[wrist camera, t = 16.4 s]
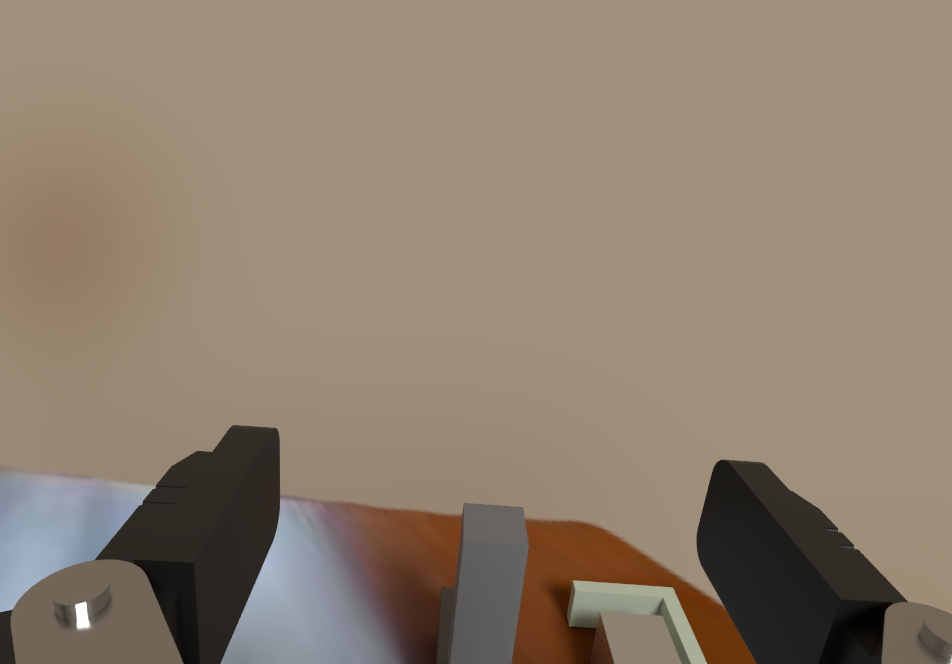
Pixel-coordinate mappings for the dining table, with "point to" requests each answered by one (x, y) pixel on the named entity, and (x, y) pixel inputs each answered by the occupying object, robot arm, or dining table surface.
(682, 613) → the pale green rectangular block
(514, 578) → the gray t-shaped block
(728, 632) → the dining table surface
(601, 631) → the grey cube block
